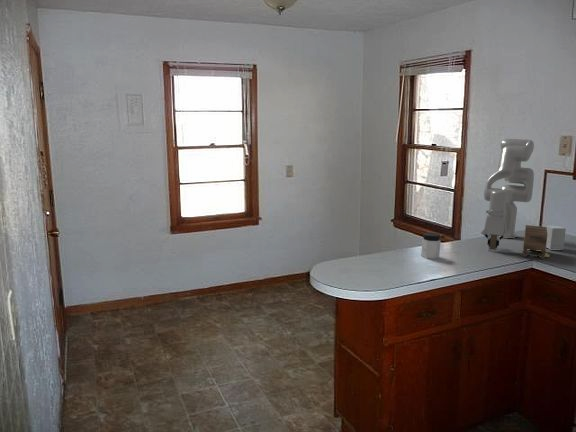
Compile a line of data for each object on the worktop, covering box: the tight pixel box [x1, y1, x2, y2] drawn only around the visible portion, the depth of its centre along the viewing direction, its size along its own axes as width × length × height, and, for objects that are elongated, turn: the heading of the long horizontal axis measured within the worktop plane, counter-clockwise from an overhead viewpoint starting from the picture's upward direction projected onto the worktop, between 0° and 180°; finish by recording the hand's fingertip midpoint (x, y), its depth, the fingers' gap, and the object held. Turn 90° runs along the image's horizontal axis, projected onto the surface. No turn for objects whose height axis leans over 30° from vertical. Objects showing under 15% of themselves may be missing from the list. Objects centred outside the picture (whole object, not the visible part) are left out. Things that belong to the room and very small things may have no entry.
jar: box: [420, 231, 441, 260], centre depth 250 cm, size 9×8×12 cm
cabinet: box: [522, 224, 548, 260], centre depth 258 cm, size 19×10×14 cm, turn 154°
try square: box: [487, 235, 540, 257], centre depth 260 cm, size 5×24×10 cm, turn 64°
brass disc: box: [538, 252, 551, 258], centre depth 255 cm, size 5×5×2 cm
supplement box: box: [545, 225, 567, 251], centre depth 269 cm, size 7×7×13 cm
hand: (492, 246), depth 265 cm, fingers closed on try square, 3 cm apart
